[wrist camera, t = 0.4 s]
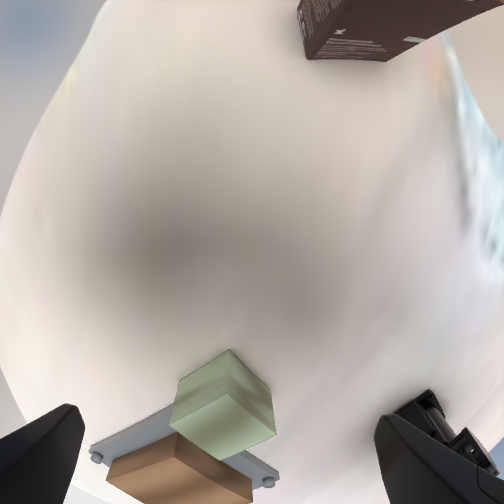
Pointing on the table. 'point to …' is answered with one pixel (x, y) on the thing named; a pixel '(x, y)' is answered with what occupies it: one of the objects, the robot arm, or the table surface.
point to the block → (223, 407)
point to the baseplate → (160, 428)
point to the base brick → (178, 475)
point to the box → (378, 25)
